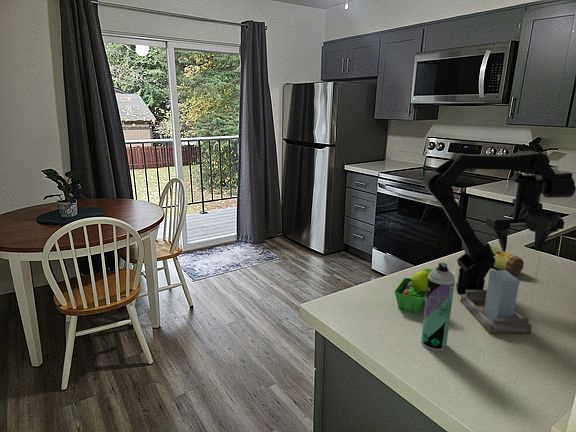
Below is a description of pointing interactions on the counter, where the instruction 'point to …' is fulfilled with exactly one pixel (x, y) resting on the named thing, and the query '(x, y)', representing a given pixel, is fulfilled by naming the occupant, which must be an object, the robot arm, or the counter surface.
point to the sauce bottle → (507, 261)
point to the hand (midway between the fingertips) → (520, 250)
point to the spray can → (437, 308)
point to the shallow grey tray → (475, 306)
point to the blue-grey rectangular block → (501, 295)
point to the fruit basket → (412, 291)
